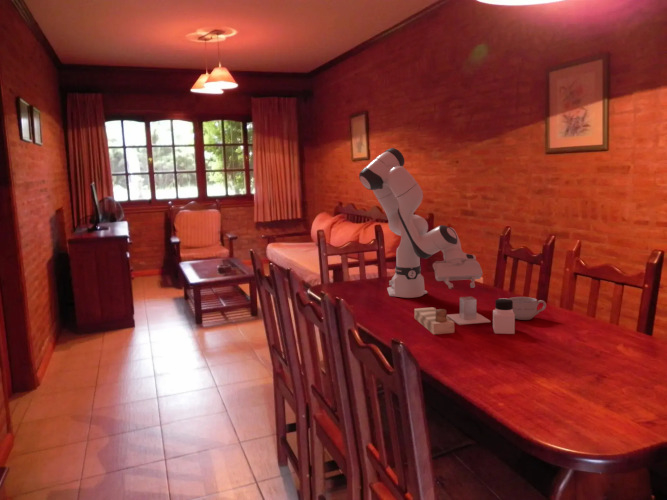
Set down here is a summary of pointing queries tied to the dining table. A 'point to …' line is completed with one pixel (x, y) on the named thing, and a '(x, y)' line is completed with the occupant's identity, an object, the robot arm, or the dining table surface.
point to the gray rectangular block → (467, 308)
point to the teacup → (526, 307)
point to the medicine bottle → (504, 317)
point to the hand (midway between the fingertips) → (462, 287)
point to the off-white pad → (461, 321)
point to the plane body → (434, 320)
